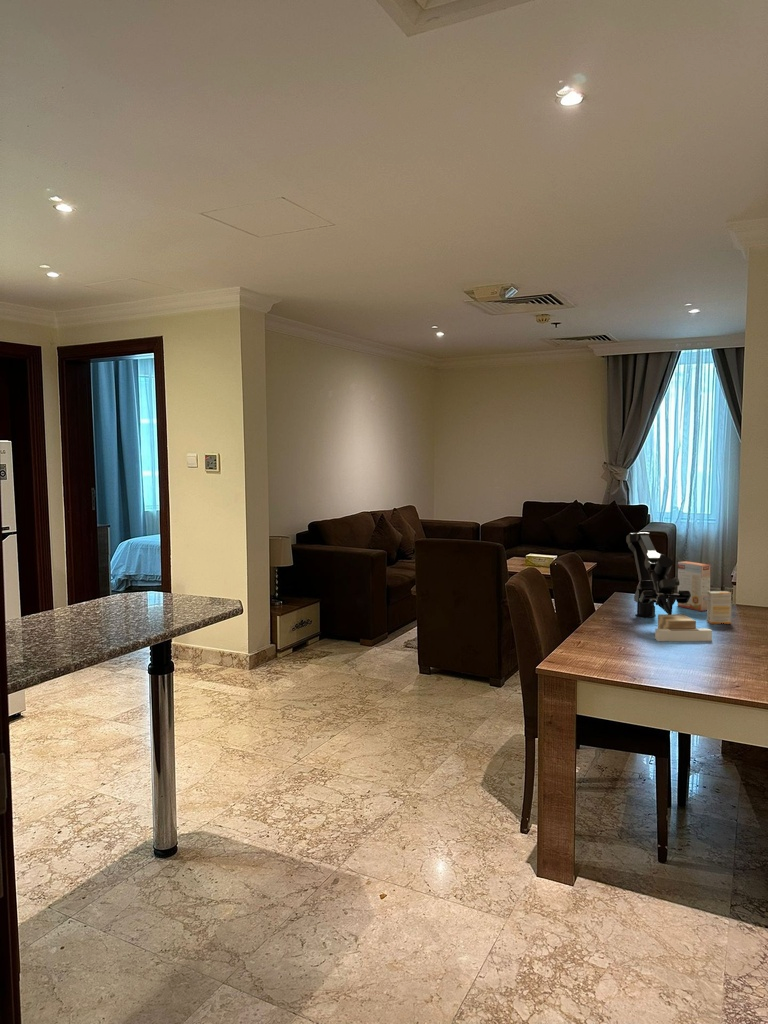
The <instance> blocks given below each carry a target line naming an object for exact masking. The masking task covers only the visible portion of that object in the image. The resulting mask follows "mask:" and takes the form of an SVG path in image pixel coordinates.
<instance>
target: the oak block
mask: <svg viewBox="0 0 768 1024" xmlns="http://www.w3.org/2000/svg"><path fill="white" fill-rule="evenodd" d="M668 628H697V621H696V620H695V619H693V618H691V617H689V616H687V615H685V614H683V613H682V614H681V613H679V614H676V613H675V614H674V613H672V614H667V613H666V614H657V629H668Z"/></svg>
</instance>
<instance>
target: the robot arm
mask: <svg viewBox="0 0 768 1024" xmlns="http://www.w3.org/2000/svg"><path fill="white" fill-rule="evenodd" d="M650 536H651V535H650V532H647V531H641V532H639V531H638V532H629V533H628V534H627V535H626V537H625V541H626V544H627V545H628V548H629V550H630V551H631V552H632V553H633V556H634V560H635V566H636V571H637V576H638V581H639V582H638V584H637V586H636V590H635V593H634V595H633V601H634V602H635V603H637V604H636V607H637V608H636V614H635V615H634V616H636V617H642V618H649V619H650V618H652V617H656V606H659V608H661V609H662V610H663V611H664V612H665V613H666V615H667V614H673V605H675V603H677V602H678V603H687V602H688V600H689V598H690V596H691V594H690V592H689V591H688V590H679V592H678V591H677V593H674V589H675V588H676V587H678V586H679V584H680V583H679V579H678V577H673V578H668V577H667V575H669V574H670V571H671V568H673V565H674V562H673V560H672V559H671V558H670V557H667V556H666V554H662V553H659V552H657V550H656V548H655V546H654V544H653V542H652V540H651V537H650ZM650 571H651V572H650ZM655 605H656V606H655Z"/></svg>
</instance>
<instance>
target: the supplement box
mask: <svg viewBox="0 0 768 1024" xmlns="http://www.w3.org/2000/svg"><path fill="white" fill-rule="evenodd" d="M706 613H707V614H706V622H707V621H708V622H707V623H709V624H710V623H711V624H710V625H722V624H723V623H724V624H723V625H726V624H727V625H729V624H730V625H732V592H730V591H729V590H710V591H707V611H706ZM721 623H722V624H721Z"/></svg>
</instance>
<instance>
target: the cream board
mask: <svg viewBox="0 0 768 1024" xmlns="http://www.w3.org/2000/svg"><path fill="white" fill-rule="evenodd" d="M654 634H655V635H654V636H655V637H654V640H655V639H656V640H655V641H657V640H658V641H657V642H712V641H713V630H712V629H710V628H697V627H696V628H668V629H658V628H655V629H654Z"/></svg>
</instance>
